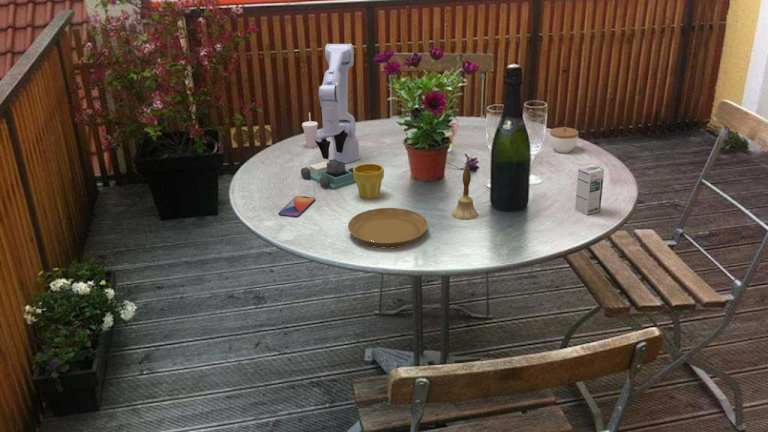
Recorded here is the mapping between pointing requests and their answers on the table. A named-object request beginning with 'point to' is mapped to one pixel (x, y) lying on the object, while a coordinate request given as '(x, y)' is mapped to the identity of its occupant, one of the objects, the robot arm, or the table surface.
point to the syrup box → (589, 189)
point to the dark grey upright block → (336, 168)
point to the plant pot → (368, 179)
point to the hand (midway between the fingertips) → (332, 155)
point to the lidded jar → (563, 139)
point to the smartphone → (297, 206)
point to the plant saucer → (387, 227)
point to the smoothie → (310, 132)
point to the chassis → (327, 176)
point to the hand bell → (465, 200)
